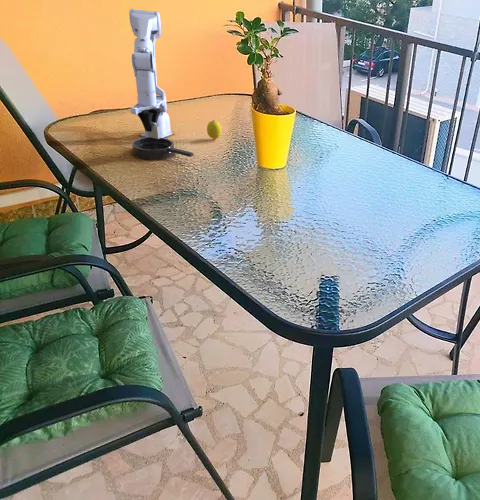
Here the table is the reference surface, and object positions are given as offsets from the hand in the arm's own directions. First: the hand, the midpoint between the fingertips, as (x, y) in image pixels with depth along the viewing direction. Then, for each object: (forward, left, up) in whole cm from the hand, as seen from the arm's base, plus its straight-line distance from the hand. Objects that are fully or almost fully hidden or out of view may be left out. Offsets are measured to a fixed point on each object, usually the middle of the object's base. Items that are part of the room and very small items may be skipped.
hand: (150, 130), depth 163 cm
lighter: (0, 0, -2) cm, 2 cm away
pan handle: (0, +12, -6) cm, 13 cm away
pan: (0, +1, -8) cm, 8 cm away
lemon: (-25, +10, -9) cm, 28 cm away
